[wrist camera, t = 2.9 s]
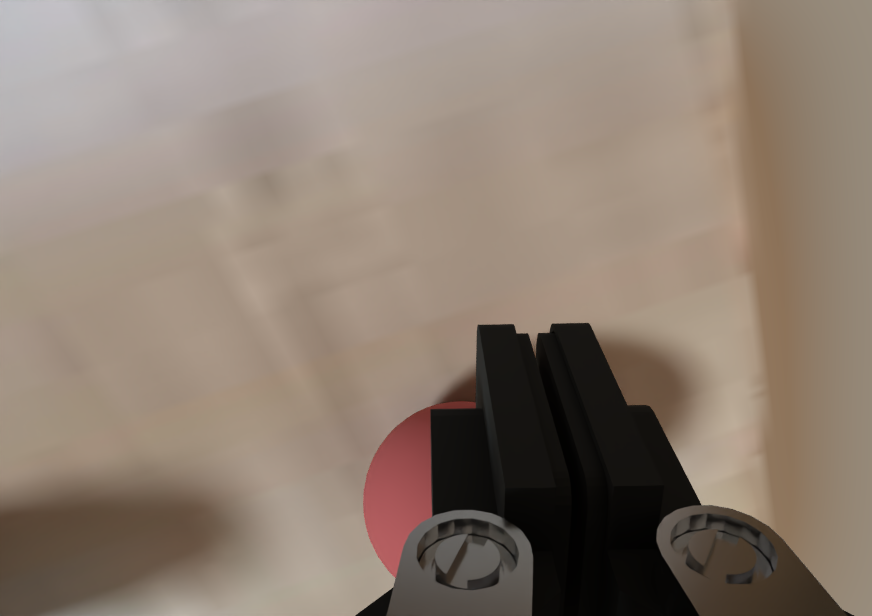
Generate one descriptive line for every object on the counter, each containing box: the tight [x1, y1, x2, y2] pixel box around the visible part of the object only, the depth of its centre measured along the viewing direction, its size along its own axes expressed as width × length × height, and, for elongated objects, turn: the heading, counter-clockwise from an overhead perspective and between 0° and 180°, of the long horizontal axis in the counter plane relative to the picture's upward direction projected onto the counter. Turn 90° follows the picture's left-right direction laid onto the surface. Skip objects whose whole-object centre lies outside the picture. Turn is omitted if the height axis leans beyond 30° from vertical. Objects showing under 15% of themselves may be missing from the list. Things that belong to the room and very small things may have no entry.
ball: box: [363, 401, 476, 578], centre depth 24 cm, size 6×6×6 cm
